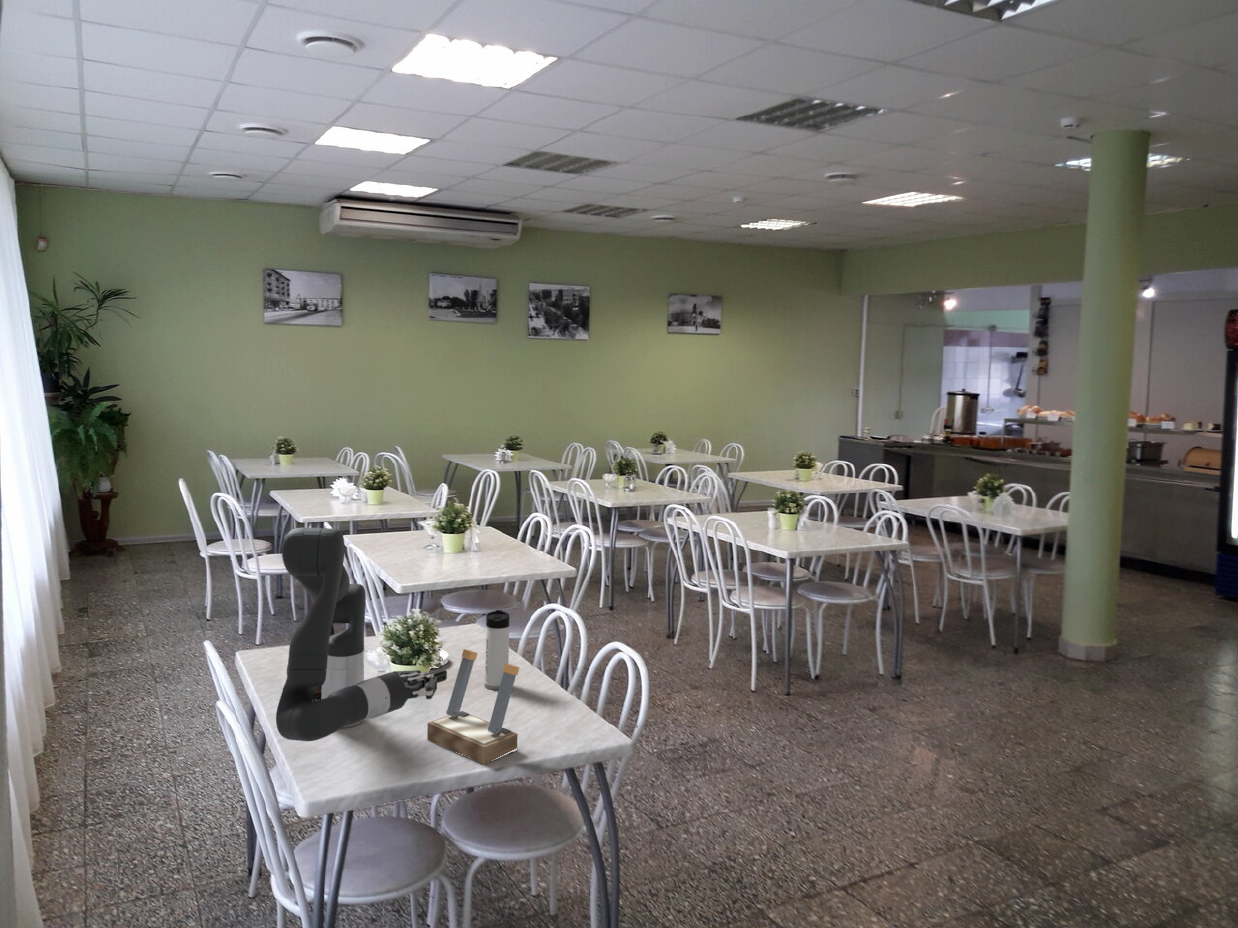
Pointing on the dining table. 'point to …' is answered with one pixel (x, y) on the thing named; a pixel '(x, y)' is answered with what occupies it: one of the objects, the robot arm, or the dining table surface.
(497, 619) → the travel mug
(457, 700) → the lever
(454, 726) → the switch unit
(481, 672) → the dining table surface
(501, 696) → the lever
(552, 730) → the dining table surface
